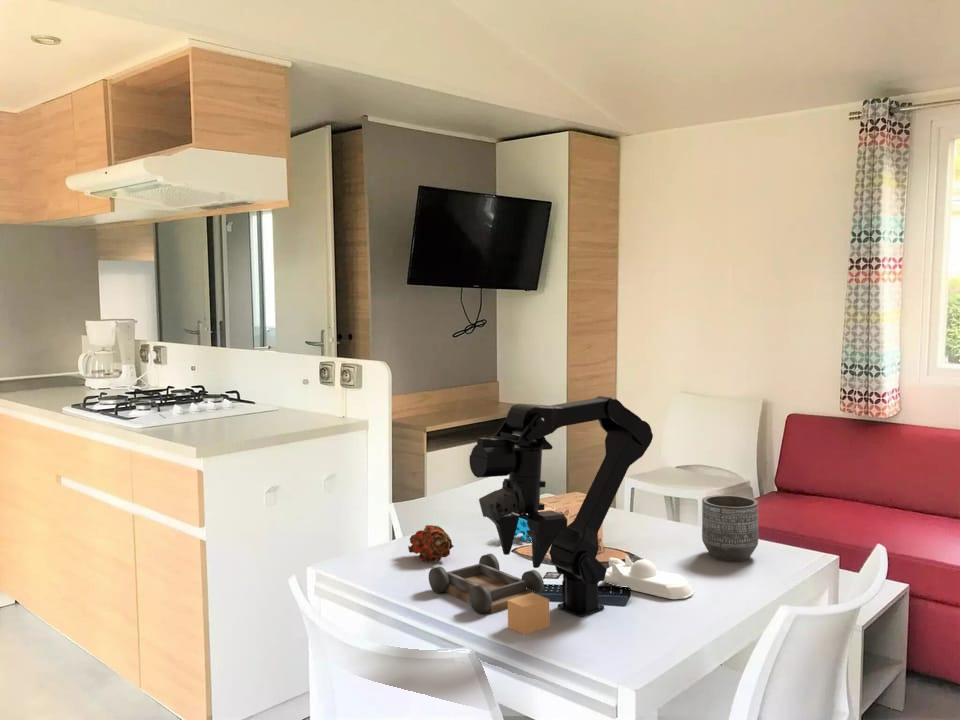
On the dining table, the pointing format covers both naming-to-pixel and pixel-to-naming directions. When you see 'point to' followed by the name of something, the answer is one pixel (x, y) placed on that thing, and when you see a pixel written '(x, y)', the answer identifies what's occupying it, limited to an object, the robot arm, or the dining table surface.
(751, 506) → the planter
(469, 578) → the chassis
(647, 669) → the dining table surface
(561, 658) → the dining table surface
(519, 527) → the gear
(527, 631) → the light orange rectangular block
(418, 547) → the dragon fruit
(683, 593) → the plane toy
